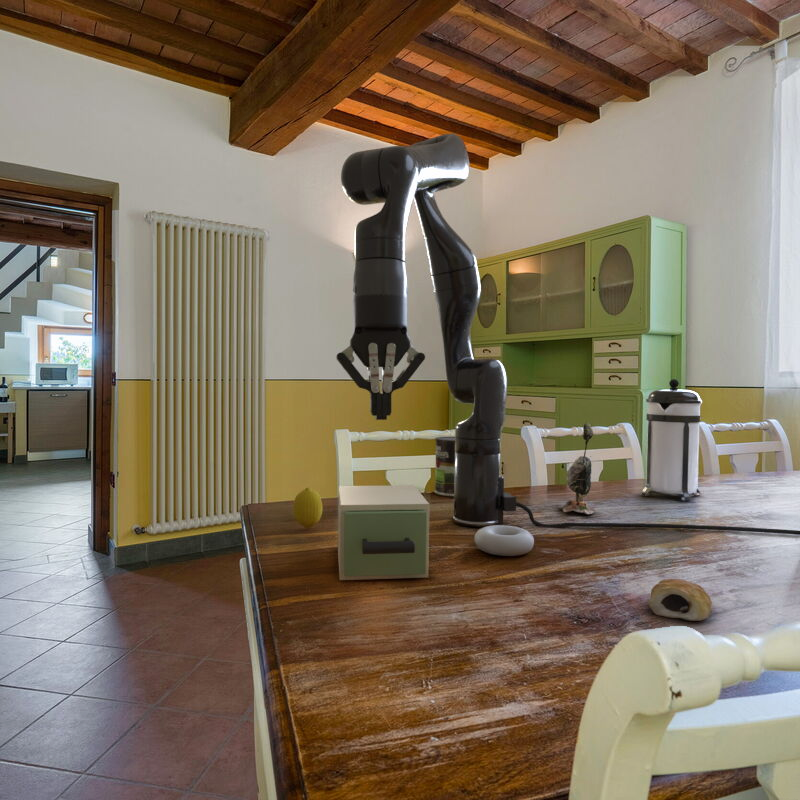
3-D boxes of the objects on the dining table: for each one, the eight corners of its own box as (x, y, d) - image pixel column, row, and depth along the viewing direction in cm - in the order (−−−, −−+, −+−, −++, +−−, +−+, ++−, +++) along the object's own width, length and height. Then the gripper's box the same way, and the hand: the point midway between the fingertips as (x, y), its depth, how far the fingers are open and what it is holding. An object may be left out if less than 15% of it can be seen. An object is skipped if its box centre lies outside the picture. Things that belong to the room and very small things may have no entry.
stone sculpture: (600, 508, 130) (603, 421, 129) (591, 518, 120) (593, 424, 119) (565, 504, 134) (566, 419, 133) (552, 513, 124) (554, 422, 123)
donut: (462, 546, 99) (498, 562, 90) (463, 526, 99) (498, 540, 90) (508, 540, 103) (546, 553, 94) (508, 521, 103) (546, 533, 94)
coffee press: (720, 502, 138) (724, 379, 137) (654, 501, 138) (657, 378, 137) (685, 489, 155) (688, 379, 155) (626, 488, 156) (629, 379, 155)
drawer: (431, 584, 77) (432, 519, 77) (345, 587, 75) (345, 521, 75) (411, 546, 95) (412, 493, 94) (341, 548, 93) (342, 494, 93)
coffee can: (446, 498, 139) (447, 440, 139) (427, 490, 149) (428, 437, 148) (482, 495, 143) (483, 439, 143) (462, 488, 153) (463, 436, 152)
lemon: (316, 534, 105) (316, 491, 105) (288, 532, 106) (288, 489, 106) (326, 526, 110) (326, 485, 110) (299, 524, 112) (299, 484, 111)
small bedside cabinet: (428, 577, 82) (429, 503, 82) (339, 580, 81) (340, 504, 80) (413, 547, 97) (413, 485, 97) (337, 549, 95) (338, 485, 95)
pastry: (660, 591, 78) (661, 564, 78) (716, 603, 74) (718, 574, 74) (646, 613, 70) (647, 583, 70) (707, 628, 66) (709, 596, 66)
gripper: (421, 300, 84) (421, 416, 85) (331, 298, 82) (332, 418, 83) (432, 293, 77) (432, 421, 77) (333, 291, 75) (334, 422, 75)
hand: (380, 419), depth 80 cm, fingers closed
